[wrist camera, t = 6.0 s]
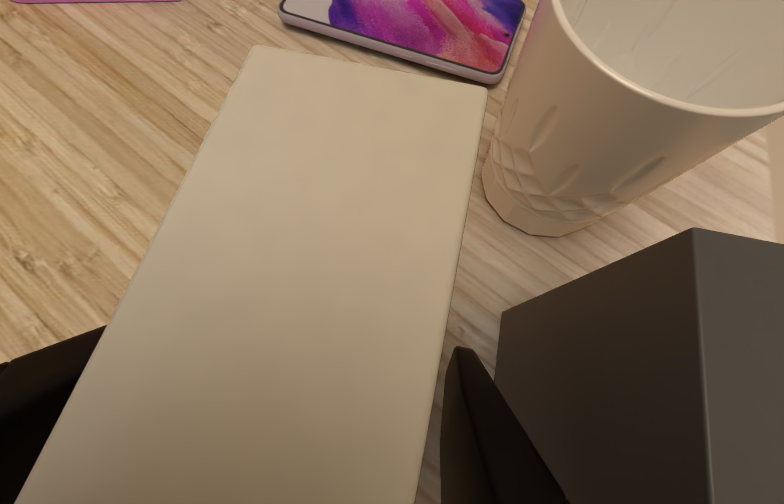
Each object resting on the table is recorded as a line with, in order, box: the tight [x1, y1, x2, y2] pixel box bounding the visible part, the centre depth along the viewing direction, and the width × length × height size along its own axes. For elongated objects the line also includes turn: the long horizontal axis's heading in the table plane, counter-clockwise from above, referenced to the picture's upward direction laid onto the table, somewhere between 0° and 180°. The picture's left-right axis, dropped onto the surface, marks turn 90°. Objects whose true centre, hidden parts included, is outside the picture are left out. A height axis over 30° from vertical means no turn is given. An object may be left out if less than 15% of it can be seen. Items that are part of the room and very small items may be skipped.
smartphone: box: [278, 0, 526, 84], centre depth 22 cm, size 7×1×15 cm
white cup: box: [481, 0, 784, 237], centre depth 14 cm, size 8×8×10 cm
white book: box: [14, 44, 488, 504], centre depth 9 cm, size 9×4×13 cm, turn 167°
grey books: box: [494, 227, 784, 504], centre depth 10 cm, size 9×6×11 cm, turn 168°
